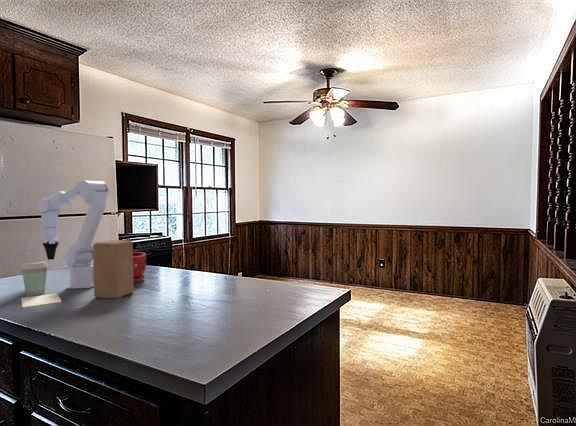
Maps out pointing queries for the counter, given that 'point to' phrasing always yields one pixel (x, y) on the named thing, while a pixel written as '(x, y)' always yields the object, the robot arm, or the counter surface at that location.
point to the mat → (40, 300)
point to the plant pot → (138, 266)
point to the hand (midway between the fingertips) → (50, 259)
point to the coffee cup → (34, 277)
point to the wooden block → (113, 268)
